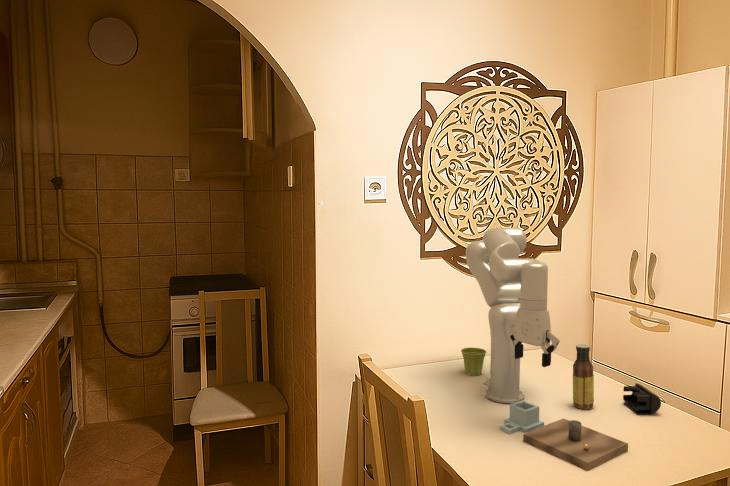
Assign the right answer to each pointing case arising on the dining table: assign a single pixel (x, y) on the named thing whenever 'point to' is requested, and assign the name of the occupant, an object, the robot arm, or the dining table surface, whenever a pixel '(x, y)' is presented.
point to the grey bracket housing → (522, 418)
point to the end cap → (641, 400)
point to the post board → (575, 443)
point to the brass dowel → (586, 446)
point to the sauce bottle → (583, 379)
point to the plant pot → (473, 360)
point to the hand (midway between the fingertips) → (532, 361)
